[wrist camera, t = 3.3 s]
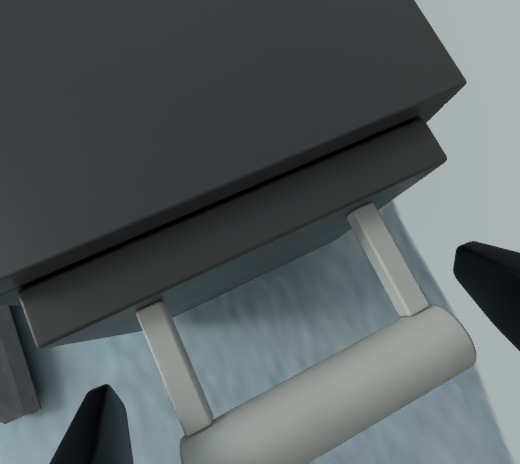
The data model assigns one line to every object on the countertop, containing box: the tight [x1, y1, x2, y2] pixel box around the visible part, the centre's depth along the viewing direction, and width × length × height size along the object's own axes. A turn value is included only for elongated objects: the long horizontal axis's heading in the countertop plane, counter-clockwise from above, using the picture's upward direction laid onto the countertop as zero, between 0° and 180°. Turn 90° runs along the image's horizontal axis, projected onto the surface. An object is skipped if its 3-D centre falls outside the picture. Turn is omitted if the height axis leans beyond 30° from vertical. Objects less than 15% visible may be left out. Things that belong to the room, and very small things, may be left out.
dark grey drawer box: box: [0, 0, 466, 306], centre depth 13 cm, size 13×11×11 cm
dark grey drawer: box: [18, 118, 476, 464], centre depth 12 cm, size 16×9×9 cm, turn 26°
